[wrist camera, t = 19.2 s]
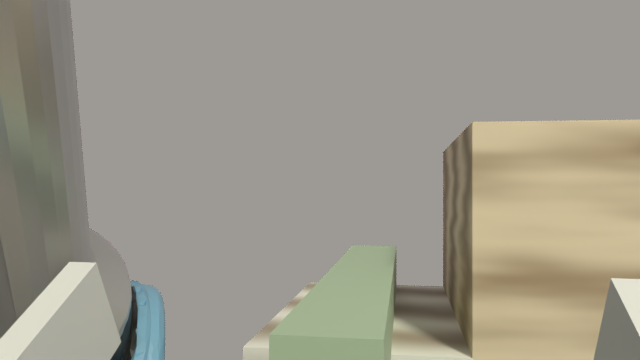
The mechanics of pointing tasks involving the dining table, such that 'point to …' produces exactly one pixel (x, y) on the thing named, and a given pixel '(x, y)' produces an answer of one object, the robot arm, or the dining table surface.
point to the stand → (521, 244)
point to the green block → (343, 311)
